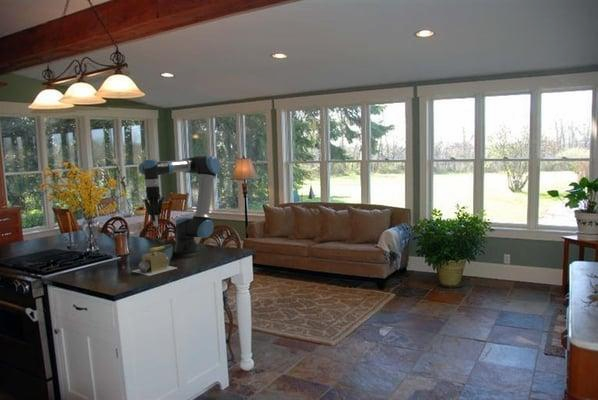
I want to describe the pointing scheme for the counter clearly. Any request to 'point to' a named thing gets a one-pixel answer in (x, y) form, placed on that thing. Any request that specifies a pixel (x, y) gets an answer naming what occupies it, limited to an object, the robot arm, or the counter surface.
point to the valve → (154, 262)
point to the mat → (156, 271)
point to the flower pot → (167, 251)
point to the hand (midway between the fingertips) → (155, 226)
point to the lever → (160, 248)
